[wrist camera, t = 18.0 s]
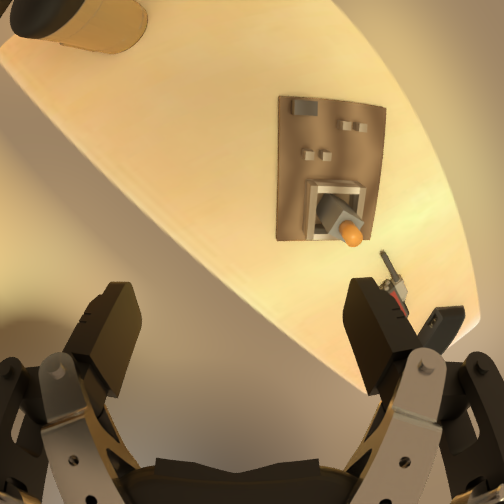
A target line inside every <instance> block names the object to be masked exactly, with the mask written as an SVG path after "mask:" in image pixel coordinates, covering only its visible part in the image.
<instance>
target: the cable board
mask: <svg viewBox="0 0 504 504" xmlns="http://www.w3.org/2000/svg"><path fill="white" fill-rule="evenodd" d="M385 124H386V108H383V107H378V106H372V105H366V104H359V103H352V102H345V101H337V100H328V99H317V98H304V97H284V96H279V133H278V192H277V227H276V239H277V241H318V240H340V239H338V238H336V237H334V236H332V235H330V234H328V232H327V231H326V229H325V227H324V226H323V224H322V222H321V221H320V219H319V217H318V216H317V214H316V206H317V205H318V203H319V201H320V200H321V198H322V197H323V195H324V193H332V194H334V195H335V196H337V197H339V198H340V199H342V200H344V201H345V202H346V203H347V204H348V205H349V206H350V207H351V208H352V209H353V210H354V212H355V213H356V214H357V215H358V216H359V217H360V218H361V219H362V220H363V222H364V224H363V225H362V227H361V228H360V230H359V231H360V232H361V233H362V235H363V240H370V237H371V232H372V227H373V221H374V216H375V210H376V203H377V197H378V190H379V183H380V176H381V167H382V159H383V149H384V137H385Z"/></svg>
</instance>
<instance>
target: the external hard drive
mask: <svg viewBox="0 0 504 504" xmlns="http://www.w3.org/2000/svg"><path fill="white" fill-rule="evenodd" d="M464 319H465V309H464V306H452V307H437V308H435V309H434V310H433V312H432V313H431V315H430V316H429V318H428V320H427V321H426V323H425V324H424V326H423V328H422V329H421V331H420V332H419V334H418V338H419V340H420V342H421V344H422V345H423V347H424V348H429V349H432V350H434V351H436V352H437V353H439V354H440V355H442V354H443V353H444V352H445V350H446V349H447V348H448V347H449V345H450V344H451V342H452V341H453V339H454V338H455V336H456V335H457V333H458V331H459V329H460V327H461V325H462V323H463V321H464Z"/></svg>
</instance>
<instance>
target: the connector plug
mask: <svg viewBox="0 0 504 504" xmlns="http://www.w3.org/2000/svg"><path fill="white" fill-rule="evenodd" d="M316 214H317V216H318V217H319V219H320V221H321V222H322V224H323V226H324V227H325V229H326V231H327V232H328V234H330V235H332V236H334V237H336V238H338V239H340V240H342V241H343V242H345V243H347V245H348V246H350V247H356V246H358V245H359V244H360V243H361V242H362V240H363V235H362V233H361V232H360V231H359V230H360V228H361V227H362V225H363V224H364V222H363V220H362V219H361V218H360V217H359V216H358V215H357V214H356V213H355V212H354V210H353V209H352V208H351V207H350V206H349V205H348V204H347V203H346V202H345V201H344V200H342V199H340V198H339V197H337V196H335V195H334V194H332V193H324V195H323V197H322V198H321V200H320V201H319V203H318V205H317V206H316Z"/></svg>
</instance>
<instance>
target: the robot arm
mask: <svg viewBox="0 0 504 504" xmlns="http://www.w3.org/2000/svg"><path fill="white" fill-rule="evenodd" d="M11 1H12V0H0V18H1V16H2V14H3V13H4V12H5V10H6V8H7V7H8V6H9V4H10V3H11ZM147 21H148V19H147V13H146V11H145V9H144V8H143V7H142V6H141V5H139V4H138V3H137V2H136V1H135V0H14V2H13V5H12V8H11V13H10V25H11V28H12V30H13V31H14V33H15V34H16V35H18V36H20V37H24V38H31V39H40V40H47V41H54V42H59V43H60V45H64V46H69V47H74V48H79V49H83V50H88V51H92V52H95V51H99V52H103V53H107V54H116V53H120V52H122V51H125V50H127V49H128V48H130V47H131V46H133V45H134V44H135V43H136V42H137V41H138V40H139V39H140V38H141V36H142V35H143V33H144V31H145V29H146V26H147ZM343 324H344V328H345V330H346V333H347V336H348V338H349V341H350V344H351V347H352V349H353V352H354V355H355V358H356V361H357V364H358V367H359V369H360V372H361V375H362V378H363V381H364V384H365V387H366V390H367V393H368V396H371V395H376V394H380V397H381V401H380V403H379V405H378V407H377V409H376V412H375V414H374V416H373V418H372V420H371V423H370V425H369V427H368V429H367V431H366V433H365V435H364V437H363V440H362V441H361V443H360V445H359V447H358V449H357V450H356V451H355V453H354V454H353V456H352V457H351V459H350V460H349V462H348V463H347V465H346V467H345V468H344V470H343V471H342V470H339V469H335V468H331V467H325V466H319V459H312V460H303V461H294V462H283V463H277V464H273V465H269V466H266V467H262V468H258V469H254V470H250V471H246V472H242V473H231V472H227V471H223V470H219V469H215V468H211V467H208V466H204V465H201V464H198V463H195V462H185V461H176V460H168V459H161V458H156V464H155V466H148V467H143V468H141V467H140V466H139V464H138V463H137V461H136V460H135V459H134V457H133V456H132V455H131V454H130V452H129V451H128V449H127V448H126V446H125V444H124V443H123V441H122V439H121V436H120V435H119V432H118V430H117V428H116V426H115V424H114V422H113V420H112V417H111V415H110V413H109V411H108V408H107V406H106V405H105V400H106V397H107V396H109V397H114V398H118V396H119V393H120V389H121V386H122V383H123V380H124V377H125V374H126V370H127V367H128V364H129V361H130V358H131V355H132V353H133V350H134V347H135V344H136V341H137V338H138V335H139V333H140V330H141V326H142V317H141V312H140V309H139V306H138V303H137V300H136V296H135V293H134V290H133V287H132V285H131V283H130V282H110V283H109V284H108V286H107V287H106V289H105V291H104V293H103V294H102V295H98V296H97V297H96V298H95V299H94V300H92V301H91V302H90V303H89V305H88V307H87V308H86V310H85V312H84V315H82V317H81V319H80V320H79V323H78V324H77V325H76V327H75V329H74V331H73V333H72V335H71V336H70V338H69V340H68V342H67V344H66V346H65V348H64V349H63V351H62V352H57V353H54V354H51V355H50V356H48V357H47V358H46V359H45V360H44V361H43V362H42V364H41V365H40V366H38V367H28V368H25V367H24V366H23V364H22V363H21V362H20V361H19V359H17V358H15V357H9V358H6V359H5V360H3V361H2V362H1V363H0V504H42V496H43V490H44V483H45V478H46V473H47V468H48V463H49V464H50V467H51V470H52V473H53V476H54V479H55V481H56V484H57V487H58V489H59V492H60V494H61V497H62V499H63V501H64V504H418V501H419V499H420V497H421V494H422V492H423V490H424V487H425V484H426V482H427V479H428V476H429V474H430V471H431V468H432V465H433V462H434V459H435V456H436V453H437V449H438V446H439V447H440V451H441V454H442V458H443V462H444V466H445V470H446V474H447V478H448V483H449V487H450V492H451V497H452V501H451V503H450V504H504V381H503V379H502V377H501V375H500V373H499V371H498V369H497V367H496V365H495V364H494V362H493V360H492V359H491V358H490V357H489V356H488V355H486V354H484V353H482V352H472V353H470V354H469V355H468V357H467V358H466V359H465V361H464V362H463V363H462V362H445V361H444V359H443V358H442V356H441V355H440V354H439V353H437V352H436V351H434V350H432V349H429V348H424V347H423V345H422V344H421V342H420V340H419V338H418V336H417V335H416V333H415V331H414V329H413V328H412V326H411V324H410V323H409V321H408V319H407V318H406V317H405V314H404V312H403V311H402V310H401V308H400V306H399V304H398V303H397V301H396V299H395V298H394V297H393V296H392V295H390V294H389V293H388V292H387V291H385V290H380V289H379V287H378V285H377V284H376V282H375V280H374V279H373V278H372V277H365V278H352V279H351V281H350V284H349V288H348V293H347V297H346V301H345V305H344V309H343ZM470 406H471V408H472V410H473V413H474V416H475V418H476V421H477V423H478V426H479V430H480V434H479V438H478V440H477V437H476V434H475V431H474V428H473V426H472V423H471V420H470V418H469V415H468V412H467V409H468V408H469V407H470ZM19 408H20V409H21V410H22V411H23V412H24V413H25V416H24V419H23V422H22V426H21V428H20V432H19V435H18V438H17V442H16V444H15V443H14V442H13V440H12V437H11V430H12V427H13V423H14V421H15V418H16V414H17V412H18V409H19Z"/></svg>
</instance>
